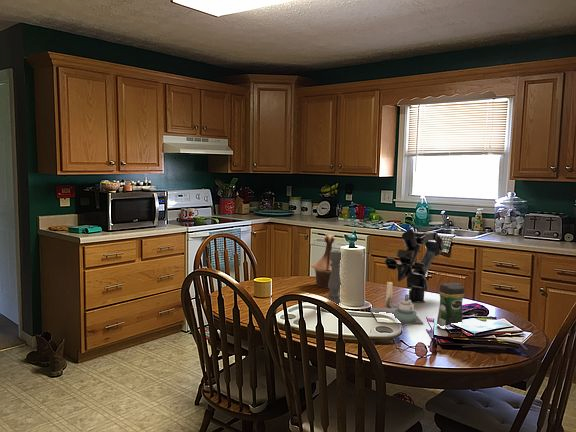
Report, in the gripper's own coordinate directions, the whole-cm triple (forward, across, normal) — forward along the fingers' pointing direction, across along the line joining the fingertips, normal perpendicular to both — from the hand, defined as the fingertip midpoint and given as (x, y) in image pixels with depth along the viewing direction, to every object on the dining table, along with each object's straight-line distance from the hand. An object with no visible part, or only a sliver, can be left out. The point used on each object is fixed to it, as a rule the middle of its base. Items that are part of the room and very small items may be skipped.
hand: (398, 280), depth 222 cm
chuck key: (+15, +6, 0) cm, 16 cm away
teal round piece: (+18, +10, +1) cm, 20 cm away
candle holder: (+20, -25, 0) cm, 32 cm away
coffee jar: (+15, +27, +4) cm, 31 cm away
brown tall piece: (+1, -47, +19) cm, 51 cm away
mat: (+16, +4, +3) cm, 17 cm away
